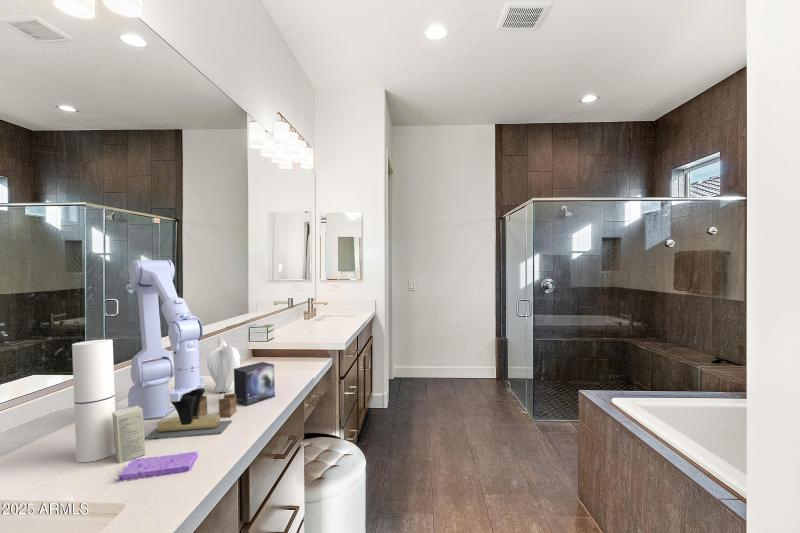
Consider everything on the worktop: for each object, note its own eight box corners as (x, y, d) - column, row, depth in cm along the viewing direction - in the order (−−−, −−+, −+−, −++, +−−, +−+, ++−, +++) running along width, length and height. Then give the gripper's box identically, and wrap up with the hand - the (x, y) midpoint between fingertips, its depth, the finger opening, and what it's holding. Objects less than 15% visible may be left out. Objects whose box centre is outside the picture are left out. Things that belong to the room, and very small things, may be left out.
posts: (188, 420, 108) (188, 401, 108) (196, 414, 113) (195, 396, 113) (230, 417, 109) (230, 398, 109) (236, 411, 114) (235, 393, 114)
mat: (143, 439, 96) (143, 438, 96) (160, 427, 104) (160, 425, 104) (220, 433, 98) (220, 432, 98) (231, 421, 106) (231, 420, 106)
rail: (157, 431, 99) (157, 422, 99) (163, 427, 102) (162, 418, 102) (216, 427, 100) (215, 417, 100) (220, 423, 103) (219, 414, 103)
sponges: (133, 468, 83) (132, 458, 83) (199, 458, 86) (198, 449, 86) (117, 484, 76) (117, 474, 76) (190, 474, 79) (189, 464, 79)
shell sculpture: (232, 394, 130) (230, 339, 131) (207, 395, 131) (204, 340, 131) (242, 387, 139) (240, 335, 139) (219, 388, 139) (216, 336, 139)
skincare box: (141, 449, 91) (139, 404, 91) (146, 455, 88) (144, 408, 88) (113, 457, 87) (111, 411, 87) (117, 464, 84) (115, 415, 84)
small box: (246, 406, 118) (244, 371, 118) (233, 403, 121) (232, 368, 122) (276, 396, 126) (274, 363, 126) (263, 393, 130) (262, 361, 130)
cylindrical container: (84, 465, 84) (80, 345, 84) (70, 458, 88) (66, 344, 88) (123, 451, 90) (118, 340, 90) (108, 445, 94) (104, 338, 94)
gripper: (190, 373, 94) (193, 431, 94) (214, 360, 109) (216, 410, 109) (159, 375, 94) (161, 434, 94) (187, 362, 108) (189, 412, 108)
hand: (189, 421), depth 101 cm, fingers closed on rail, 3 cm apart
